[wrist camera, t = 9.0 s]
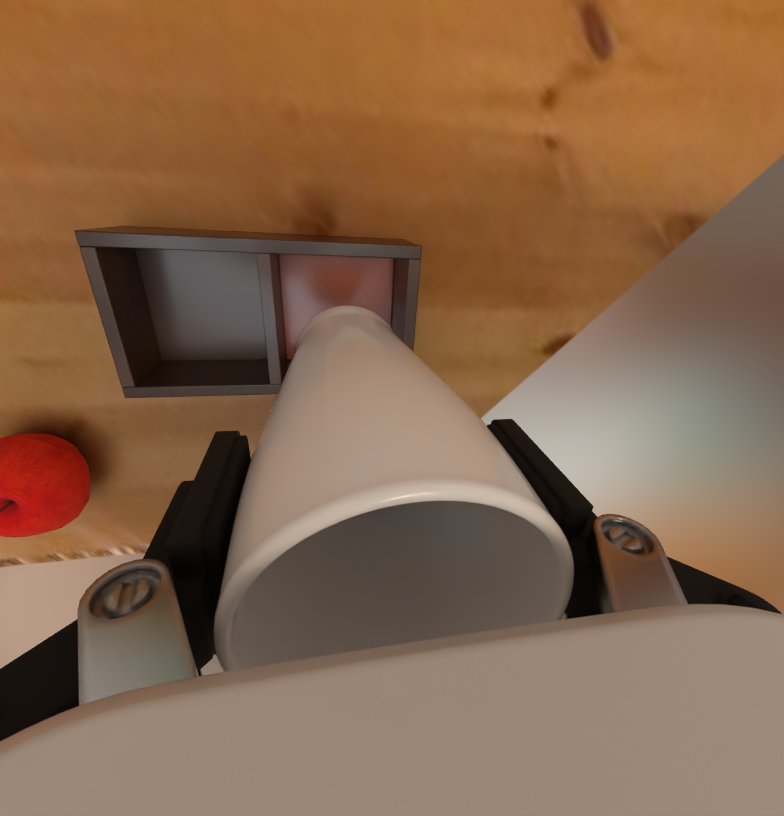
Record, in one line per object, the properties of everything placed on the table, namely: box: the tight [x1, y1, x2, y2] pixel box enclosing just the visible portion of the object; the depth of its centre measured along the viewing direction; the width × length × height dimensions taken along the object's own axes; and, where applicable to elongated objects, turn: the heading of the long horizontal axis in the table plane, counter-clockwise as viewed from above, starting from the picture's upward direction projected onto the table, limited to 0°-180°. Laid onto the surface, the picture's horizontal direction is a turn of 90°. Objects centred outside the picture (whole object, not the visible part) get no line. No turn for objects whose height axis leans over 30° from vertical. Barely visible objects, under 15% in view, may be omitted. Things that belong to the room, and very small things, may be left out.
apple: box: [0, 433, 90, 537], centre depth 29 cm, size 8×8×7 cm
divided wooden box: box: [75, 226, 422, 398], centre depth 27 cm, size 10×19×6 cm, turn 87°
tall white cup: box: [213, 305, 574, 672], centre depth 13 cm, size 7×7×15 cm
